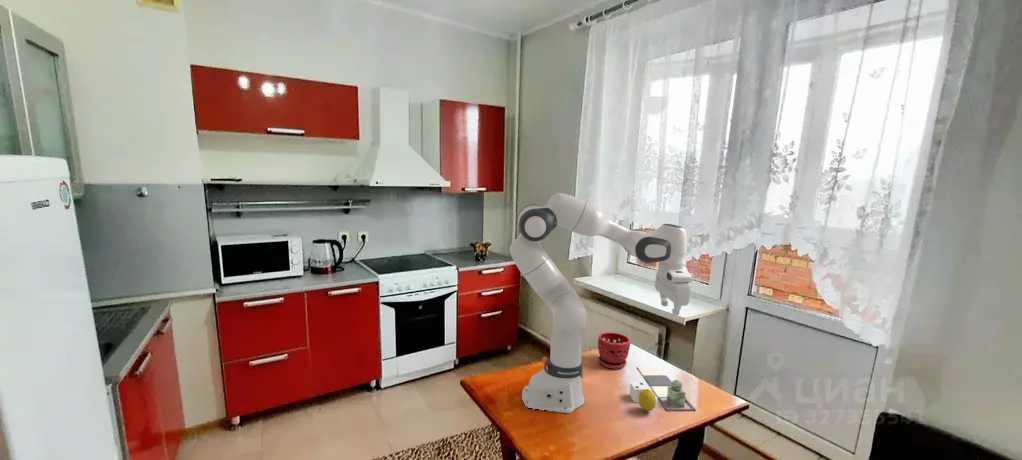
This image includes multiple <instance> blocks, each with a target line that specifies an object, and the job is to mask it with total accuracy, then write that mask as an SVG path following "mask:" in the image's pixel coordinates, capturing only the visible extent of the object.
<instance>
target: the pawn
mask: <svg viewBox="0 0 1022 460" xmlns="http://www.w3.org/2000/svg"><path fill="white" fill-rule="evenodd" d="M671 382H672V384H671V385H672V386H668V392H667V398H666V401H667V403H668V405H670V407H671V408H685V405H686V401H685V397H686V392H687V391H685V390H684V389H683V383H682V381H680V380H678V379H674V380H672V381H671Z"/></svg>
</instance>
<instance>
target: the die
mask: <svg viewBox="0 0 1022 460" xmlns="http://www.w3.org/2000/svg"><path fill="white" fill-rule="evenodd" d="M645 389H649V387H648V385H646V383H645V382H643V381H642V382H641V381H632V382H631V381H630V385H629V396H630V398H631V400H632V401H633V402H634V403H639V395H640V393H641V391H643V390H645Z"/></svg>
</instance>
